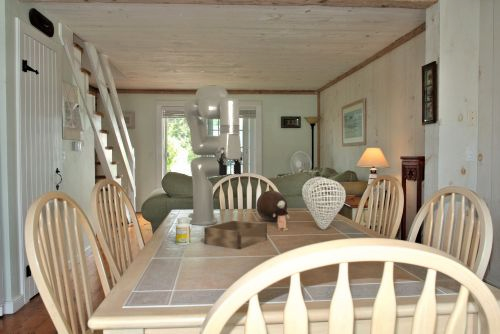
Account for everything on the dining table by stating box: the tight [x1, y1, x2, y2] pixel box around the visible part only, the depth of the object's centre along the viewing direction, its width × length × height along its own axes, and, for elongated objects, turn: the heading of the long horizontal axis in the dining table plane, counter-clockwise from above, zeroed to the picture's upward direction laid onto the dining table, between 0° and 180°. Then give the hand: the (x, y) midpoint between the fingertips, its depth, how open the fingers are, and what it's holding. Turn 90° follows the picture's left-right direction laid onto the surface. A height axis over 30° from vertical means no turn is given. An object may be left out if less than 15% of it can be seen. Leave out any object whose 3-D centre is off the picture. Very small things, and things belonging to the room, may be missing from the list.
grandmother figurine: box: [273, 201, 290, 231], centre depth 173 cm, size 8×4×13 cm, turn 71°
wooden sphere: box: [255, 189, 288, 222], centre depth 196 cm, size 15×15×15 cm
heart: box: [301, 176, 347, 230], centre depth 173 cm, size 28×16×22 cm, turn 3°
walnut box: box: [203, 220, 268, 250], centre depth 151 cm, size 16×18×6 cm
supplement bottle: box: [175, 216, 191, 246], centre depth 149 cm, size 5×5×10 cm
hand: (230, 174), depth 156 cm, fingers open, 9 cm apart
